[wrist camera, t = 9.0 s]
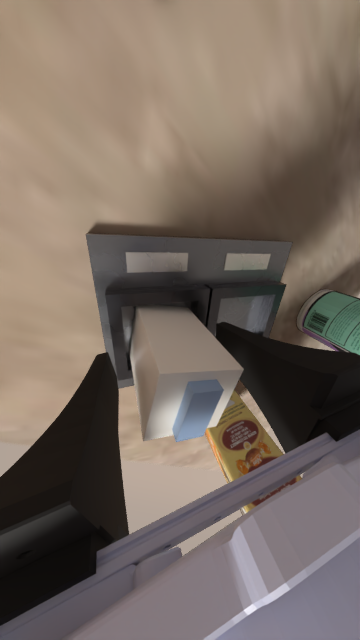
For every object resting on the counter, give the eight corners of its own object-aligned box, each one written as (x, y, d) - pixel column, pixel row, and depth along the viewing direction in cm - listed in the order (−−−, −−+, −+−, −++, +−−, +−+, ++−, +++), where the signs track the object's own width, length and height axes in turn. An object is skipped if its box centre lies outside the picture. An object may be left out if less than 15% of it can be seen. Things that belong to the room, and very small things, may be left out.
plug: (187, 307, 14) (252, 378, 8) (176, 349, 16) (221, 437, 9) (136, 302, 12) (163, 386, 6) (129, 350, 14) (145, 455, 8)
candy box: (182, 380, 19) (333, 707, 6) (217, 363, 19) (420, 628, 7) (198, 421, 24) (302, 653, 11) (226, 407, 24) (355, 610, 12)
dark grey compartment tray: (284, 241, 15) (306, 243, 13) (250, 354, 21) (262, 366, 19) (87, 233, 10) (83, 235, 9) (112, 382, 16) (112, 401, 14)
